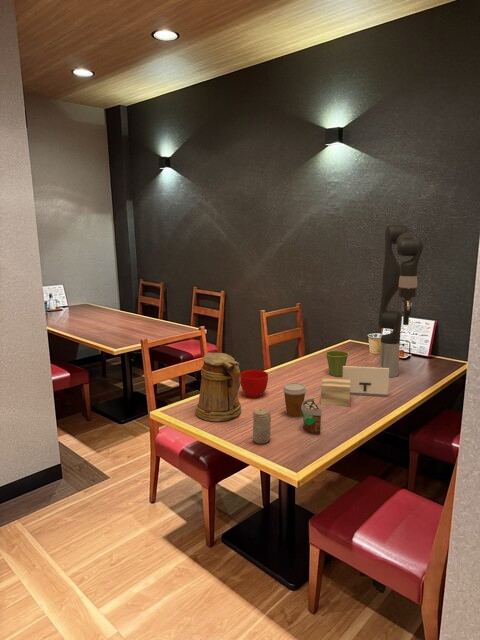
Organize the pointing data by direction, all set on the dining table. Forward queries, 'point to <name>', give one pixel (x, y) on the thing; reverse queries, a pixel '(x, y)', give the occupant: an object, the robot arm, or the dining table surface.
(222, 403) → the tankard
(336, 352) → the plant pot
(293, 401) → the disposable coffee cup
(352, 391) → the letter sign
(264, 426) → the beige textured cylinder
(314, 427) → the food container
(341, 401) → the beech block
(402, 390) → the dining table surface
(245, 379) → the ceramic cup
